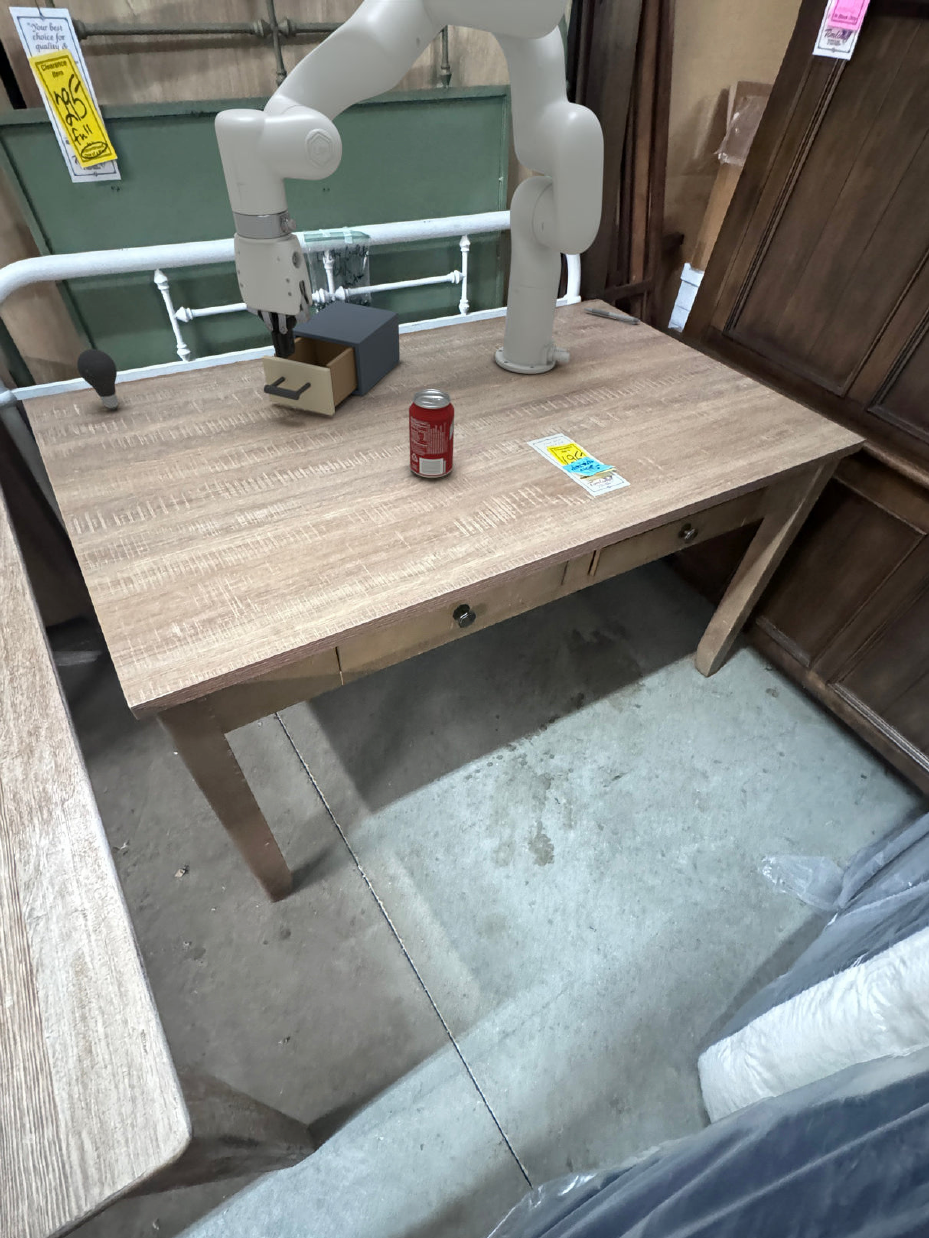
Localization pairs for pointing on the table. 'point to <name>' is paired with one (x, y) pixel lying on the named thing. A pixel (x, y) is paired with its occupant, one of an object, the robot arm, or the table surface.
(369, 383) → the cabinet
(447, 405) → the soda can
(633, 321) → the pen
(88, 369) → the light bulb
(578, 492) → the table surface
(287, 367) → the drawer
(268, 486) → the table surface
